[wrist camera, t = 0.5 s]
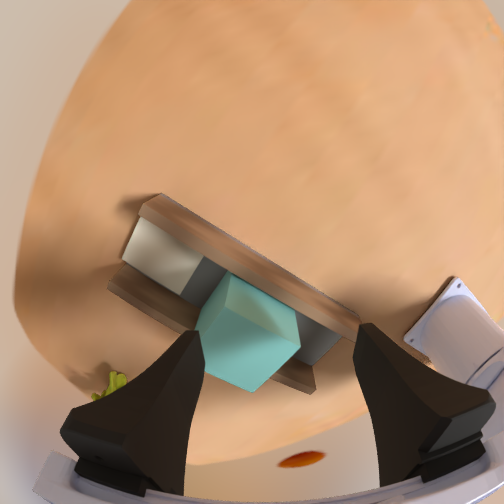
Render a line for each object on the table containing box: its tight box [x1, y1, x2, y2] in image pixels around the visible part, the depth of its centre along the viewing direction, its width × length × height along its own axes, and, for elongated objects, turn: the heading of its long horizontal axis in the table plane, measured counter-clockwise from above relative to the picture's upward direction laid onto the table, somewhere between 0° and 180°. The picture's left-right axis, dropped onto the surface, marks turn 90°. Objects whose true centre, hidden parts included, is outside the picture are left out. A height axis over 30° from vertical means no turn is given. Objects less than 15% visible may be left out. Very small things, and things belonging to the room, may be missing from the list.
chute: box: [107, 193, 362, 395], centre depth 20 cm, size 19×7×4 cm, turn 57°
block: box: [195, 270, 301, 393], centre depth 18 cm, size 5×5×6 cm
